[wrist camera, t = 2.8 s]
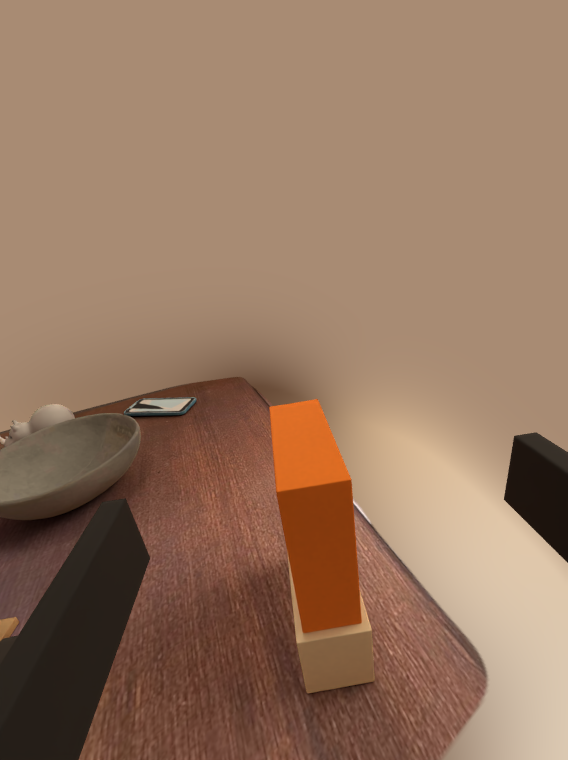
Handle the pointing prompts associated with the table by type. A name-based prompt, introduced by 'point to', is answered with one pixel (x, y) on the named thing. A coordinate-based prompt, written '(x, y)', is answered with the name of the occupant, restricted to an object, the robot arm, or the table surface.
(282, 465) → the orange rectangular block
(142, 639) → the table surface
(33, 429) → the round bodied animal figurine
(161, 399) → the smartphone
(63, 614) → the robot arm
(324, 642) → the pad riser
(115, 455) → the bowl
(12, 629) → the pad holder
